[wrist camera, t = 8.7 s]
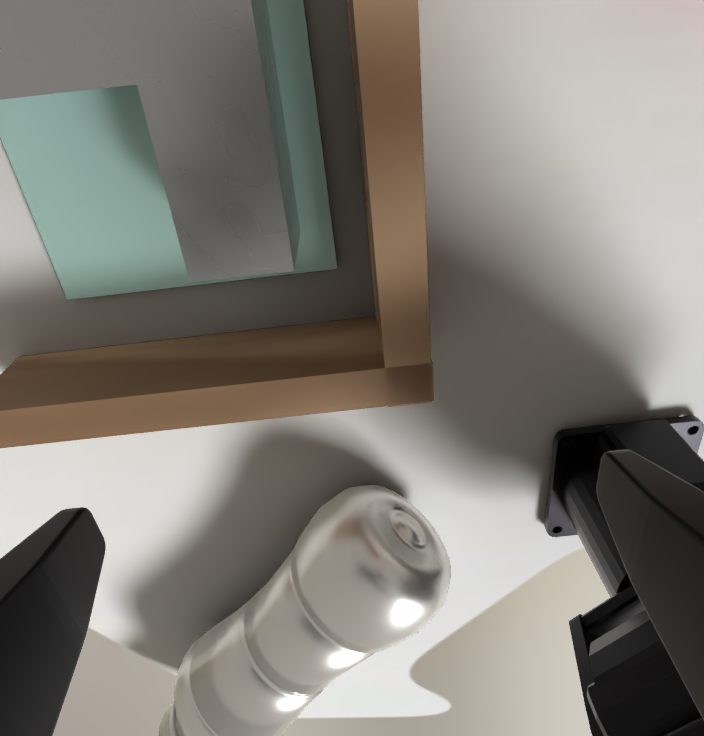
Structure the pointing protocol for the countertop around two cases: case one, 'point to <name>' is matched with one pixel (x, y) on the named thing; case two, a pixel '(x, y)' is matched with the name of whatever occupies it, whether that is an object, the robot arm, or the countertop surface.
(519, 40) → the countertop surface
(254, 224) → the bracket
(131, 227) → the pad
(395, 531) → the plastic bottle
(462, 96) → the countertop surface
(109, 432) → the wooden corner wall
